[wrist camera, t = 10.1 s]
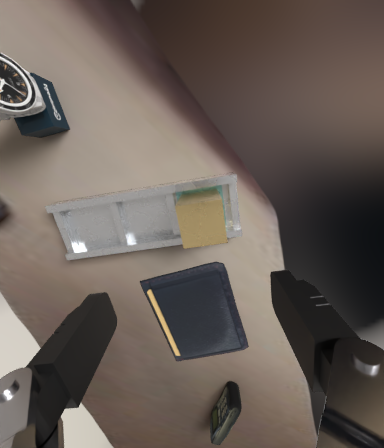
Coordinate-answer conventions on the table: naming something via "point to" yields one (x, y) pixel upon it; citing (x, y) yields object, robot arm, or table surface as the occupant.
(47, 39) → the table surface
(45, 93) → the watch
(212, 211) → the tan block
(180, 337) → the dark blue notebook
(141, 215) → the tray with compartments
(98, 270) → the table surface
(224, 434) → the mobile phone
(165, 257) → the table surface
